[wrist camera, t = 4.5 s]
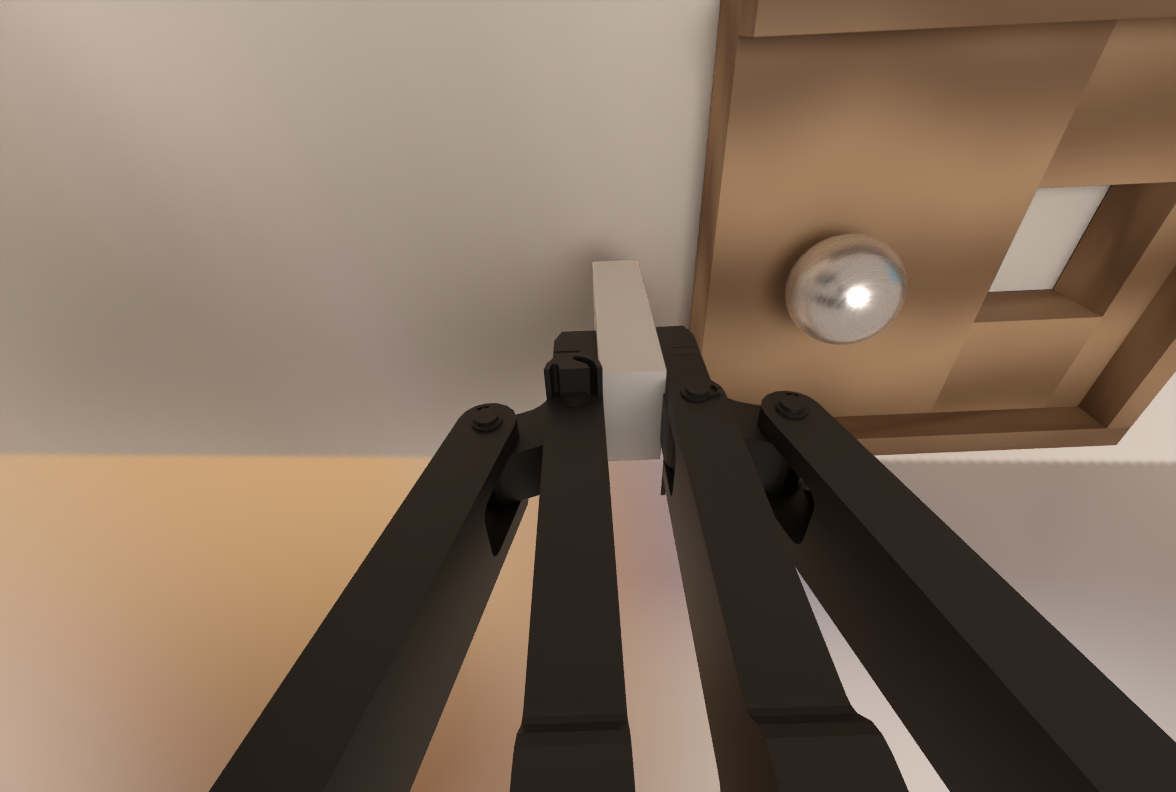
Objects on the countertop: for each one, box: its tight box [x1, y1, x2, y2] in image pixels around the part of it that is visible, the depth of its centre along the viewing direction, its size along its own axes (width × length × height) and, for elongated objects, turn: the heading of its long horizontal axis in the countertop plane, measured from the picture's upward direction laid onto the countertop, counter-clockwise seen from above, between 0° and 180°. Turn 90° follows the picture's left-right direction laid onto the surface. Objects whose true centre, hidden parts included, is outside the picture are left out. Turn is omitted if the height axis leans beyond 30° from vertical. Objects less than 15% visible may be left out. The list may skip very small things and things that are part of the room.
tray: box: [690, 0, 1176, 455], centre depth 18 cm, size 16×18×4 cm
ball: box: [785, 234, 907, 345], centre depth 17 cm, size 4×4×4 cm
